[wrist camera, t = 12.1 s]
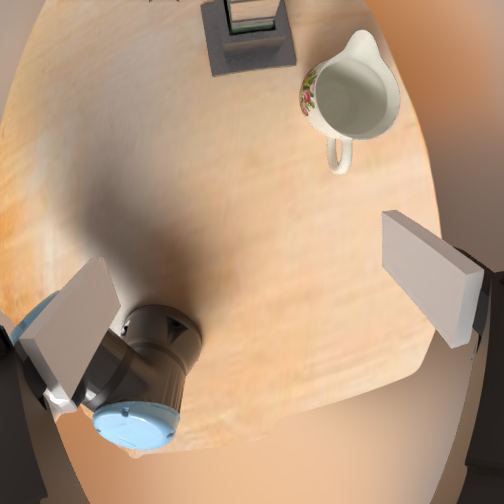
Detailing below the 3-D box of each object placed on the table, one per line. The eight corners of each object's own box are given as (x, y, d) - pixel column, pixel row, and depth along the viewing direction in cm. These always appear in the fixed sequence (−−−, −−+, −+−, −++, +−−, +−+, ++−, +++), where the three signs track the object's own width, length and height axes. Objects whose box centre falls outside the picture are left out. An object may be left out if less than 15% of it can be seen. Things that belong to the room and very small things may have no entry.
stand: (212, 77, 41) (205, 65, 33) (201, 7, 37) (192, -17, 28) (295, 65, 41) (307, 52, 32) (281, -4, 36) (290, -29, 28)
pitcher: (287, 163, 47) (305, 177, 34) (295, 47, 40) (316, 19, 27) (357, 170, 47) (395, 187, 34) (366, 59, 40) (407, 41, 28)
